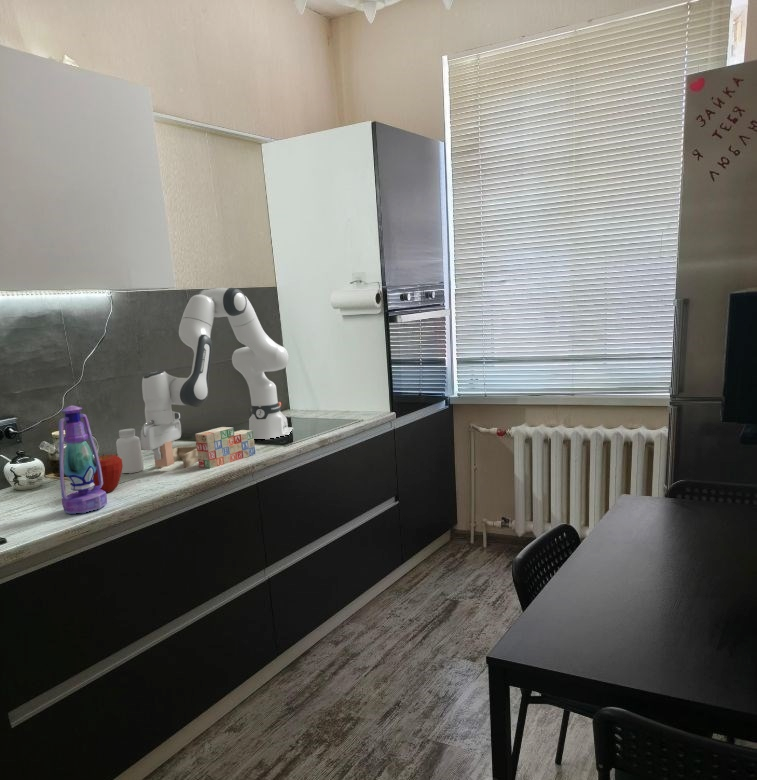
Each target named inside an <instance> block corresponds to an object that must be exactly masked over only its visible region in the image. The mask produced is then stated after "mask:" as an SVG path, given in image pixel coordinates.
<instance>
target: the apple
mask: <svg viewBox="0 0 757 780" xmlns="http://www.w3.org/2000/svg"><path fill="white" fill-rule="evenodd" d="M98 457H99V461H100V465H101V471H102V477H103V485H102V487H101V488H99V489H101V490H103V491H105V492H106V493H110V491H111V492H113V491H115V489H117V487H118V486H119V483H120V479H121V477H122V473H121V472H122V467H123V464H122V459H121V458H120V457H118V454H117V455H116V454H106V455H104V453H103V454H102V456H98ZM94 460H95V458H94ZM93 480H94V482H93V483H94V484H95V486H98V485H99V478H98V472H97V469H96V472H95V474H94V476H93ZM95 486H93V488H94V487H95Z"/></svg>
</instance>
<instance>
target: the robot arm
mask: <svg viewBox="0 0 757 780" xmlns="http://www.w3.org/2000/svg"><path fill="white" fill-rule="evenodd" d="M223 317H227V319H228V322H229V325H230V327H231V329H232V332H233V334H234V336H235V338H236V340H237V341H238V342H239V343H241V345H244V347H240V348H237V349H235V350H234V351H233V353H232V355H231V363H232V367H233V368H234V369H235V370H236V371H238V372H239V373H240V374H241V375H242V376H243V378H244V379H245V381H246V383H247V386H248V390H249V396H250V402H251V405H250V413H251V416H250V417H249V418H248V425H249V426H248V427H249V429H248V430H251V431H253V437H254V439H265V440H271V439H270V438H274V439H277V438H276V437H279V438H281V437H280V436H284V437H286V436H285V435H289V434H290V432H291V431H292V429H293V430H294V427H292V426H291V427H290V426H288V425H289V424H288V419H287V417H286V416H285V415H284V414H283V413H282V412H281V407H282V403H281V401H278V400H279V399H278V392H277V385H276V384H275V383H274V381H272V380H270V379H269V378H268V377H267V376H266V374H265V372H277V371H280V370H284V369H286V367H287V365H288V363H289V359H290V358H289V357H290V356H289V352H288V351H287V349H286V348H285V347H284V346H282V345H281V344H278V343H277V342H276V341H274V340H273V339H272V338H271V337H270V336H269V335H268V334H267V333H266V332H265V330H264V329H263V326H262V325H261V322H260V320H259V317H258V316H257V313H256V312H255V309H254V307H253V305H252V303H251V302H250V300H249V299H248V297H247V296H246V295H245V293H244V292H243V291H242V289H239V288H236V287H235V288H234V287H215V288H210V289H206V288H205V289H201V290H198V291H197V292H196V293H195V294H194V295H193V296H191V297H190V299H189V301H188V302H187V305H186V307H185V308H184V311H183V313H182V316H181V320H180V323H179V327H178V336H179V339H180V340H181V342H182V343H183V344H184V345H186V346H188V347H189V348H191V349H192V351H193V360H192V367H191V371H190V375H189V376H188V377H177V376H174V375H171V374H169V373H168V372H166V371H165V370H159V369H158V370H154V371H150V372H148V373H146V374H144V375H143V376H142V381H141V390H142V391H141V392H142V393H141V394H142V399H143V402H144V417H145V422H144V423H143V426H141V429H140V443H141V450H143V451H152V453H153V455H154V454H155V456H156V460H160V459H162V458H163V457H162V454H161V453H160V451H159V450H160V446H163V444H164V443H166V442H169V441H172V446H173V445H174V444H173V442H174V441H177V440H180V439H181V436H182V424H181V420H180V419H181V414H180V412H177V411H173V410H172V409H173V408H172V405H176V406H177V405H178V406H189V407H194V408H195V407H196V408H197V407H200V406H202V405H203V404H204V403H205V402H206V401H207V399H208V397H209V393H210V391H209V390H210V387H209V381H210V380H209V377H210V371H211V363H212V357H213V341H212V339H211V334H212V330H213V329H212V328H213V325H214V319H215V318H223ZM292 432H293V431H292ZM292 432H291V433H292ZM290 435H291V434H290ZM290 435H289V436H290Z"/></svg>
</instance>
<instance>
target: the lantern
mask: <svg viewBox="0 0 757 780" xmlns="http://www.w3.org/2000/svg"><path fill="white" fill-rule="evenodd" d="M81 410H83V407H81V406H77V405H68V406H67V407H65V408H63V409H61V410H60V412H63V414H64V417H62V418H60V419H59V420H58V440H59V441H58V449H59V450H58V451H59V452H58V455H59V482H60V490H61V498H62V499H61V504H62V508H63V511H64V512H65V513H67V514H69V515H77V514H76V513H82V514H86V512H88V513H90V512H89V511H91V512H94V511H93V510H95V511H98V510H100V509H101V508H103V507H104V506H106V505H107V504H108V497H107V492H105V491H103V490H101V489H99V488H101V487H102V485H103V477H102V471H101V465H100V461H99V457H100V456H99V454H98V451H97V446H96V443H95V440H94V436H93V434H92V430H91V427H90V422H89V419H88V417H87V414H84V413H80V412H81ZM81 418H82V419H83V421H84V422H83V421H81ZM85 429H86V431H85ZM87 440H89V444H90V445H89V444H88V442H87ZM65 443H66V446H65ZM90 446H91V448H90ZM64 449H65V450H64ZM94 458H95V460H94ZM96 469H97V472H98V478H99V485H98V486H95V484H94V483H93V482H94V480H93V476H94V474H95V472H96ZM65 476H66V478H67V479H68V480H69V481H70V486H71V487H70V490H72V491H73V492H70V493H69V494H67V491H66V490H67V489H66V483H65ZM94 486H95V487H94ZM74 491H75V492H74ZM97 509H98V510H97Z"/></svg>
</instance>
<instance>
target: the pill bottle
mask: <svg viewBox="0 0 757 780" xmlns="http://www.w3.org/2000/svg"><path fill="white" fill-rule="evenodd" d="M118 437H119V438H117V440H116V442H115V445H116V452H117V456H118V457H120V458H121V459H122V464H123V467H122V472H121V474H122V473H129V474H134V473H139V472H142V471H143V470H144V467H145V465H144V460H143V459H144V458H143V452H142V447H141V438H140V437H139V436H137V435H136V429H135V428H125V429H120V430H118ZM141 470H142V471H141Z"/></svg>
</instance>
